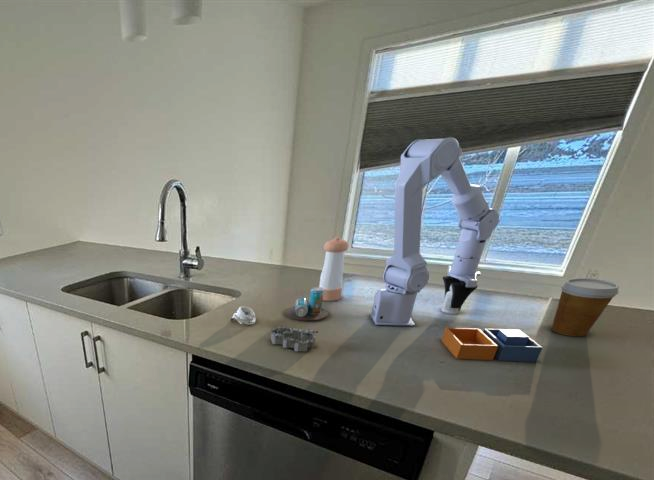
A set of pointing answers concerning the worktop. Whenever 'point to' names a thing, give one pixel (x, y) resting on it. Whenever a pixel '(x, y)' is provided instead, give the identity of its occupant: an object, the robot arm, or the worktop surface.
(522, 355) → the blue bin
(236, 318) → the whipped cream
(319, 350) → the worktop surface
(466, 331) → the amber bin
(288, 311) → the round serving tray
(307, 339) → the egg carton
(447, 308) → the pill bottle
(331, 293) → the pepper shaker
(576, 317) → the disposable coffee cup
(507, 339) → the blue block
